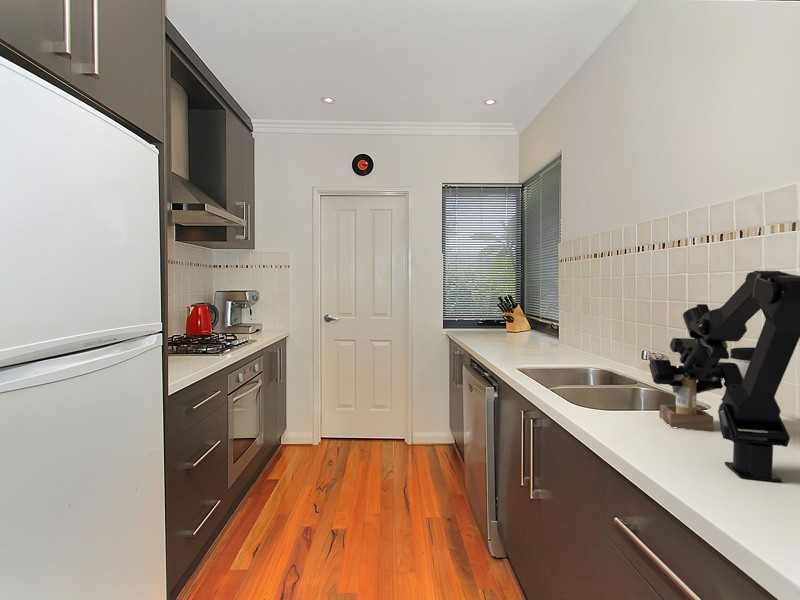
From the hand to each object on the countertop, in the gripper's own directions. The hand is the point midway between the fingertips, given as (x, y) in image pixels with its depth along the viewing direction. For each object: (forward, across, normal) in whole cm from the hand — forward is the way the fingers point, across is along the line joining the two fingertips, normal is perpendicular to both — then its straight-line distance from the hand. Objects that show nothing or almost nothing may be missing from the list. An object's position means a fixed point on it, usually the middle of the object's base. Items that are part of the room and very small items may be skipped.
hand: (683, 391), depth 111 cm
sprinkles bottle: (+4, 0, +6) cm, 7 cm away
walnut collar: (+5, 0, +6) cm, 8 cm away
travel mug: (+8, -15, +3) cm, 18 cm away
